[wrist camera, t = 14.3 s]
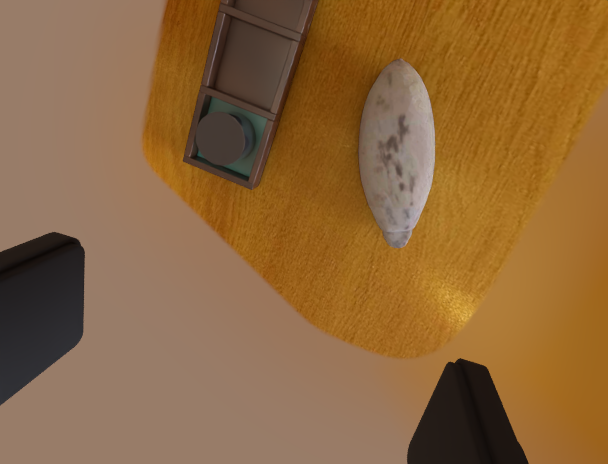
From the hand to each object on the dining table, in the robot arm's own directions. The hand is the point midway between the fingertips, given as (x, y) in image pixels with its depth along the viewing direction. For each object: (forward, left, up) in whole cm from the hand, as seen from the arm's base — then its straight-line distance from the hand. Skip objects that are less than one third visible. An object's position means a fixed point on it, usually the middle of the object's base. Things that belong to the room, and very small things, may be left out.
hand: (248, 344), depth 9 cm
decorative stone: (-4, +3, -26) cm, 27 cm away
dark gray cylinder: (+3, -10, -26) cm, 28 cm away
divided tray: (-3, -12, -26) cm, 29 cm away
